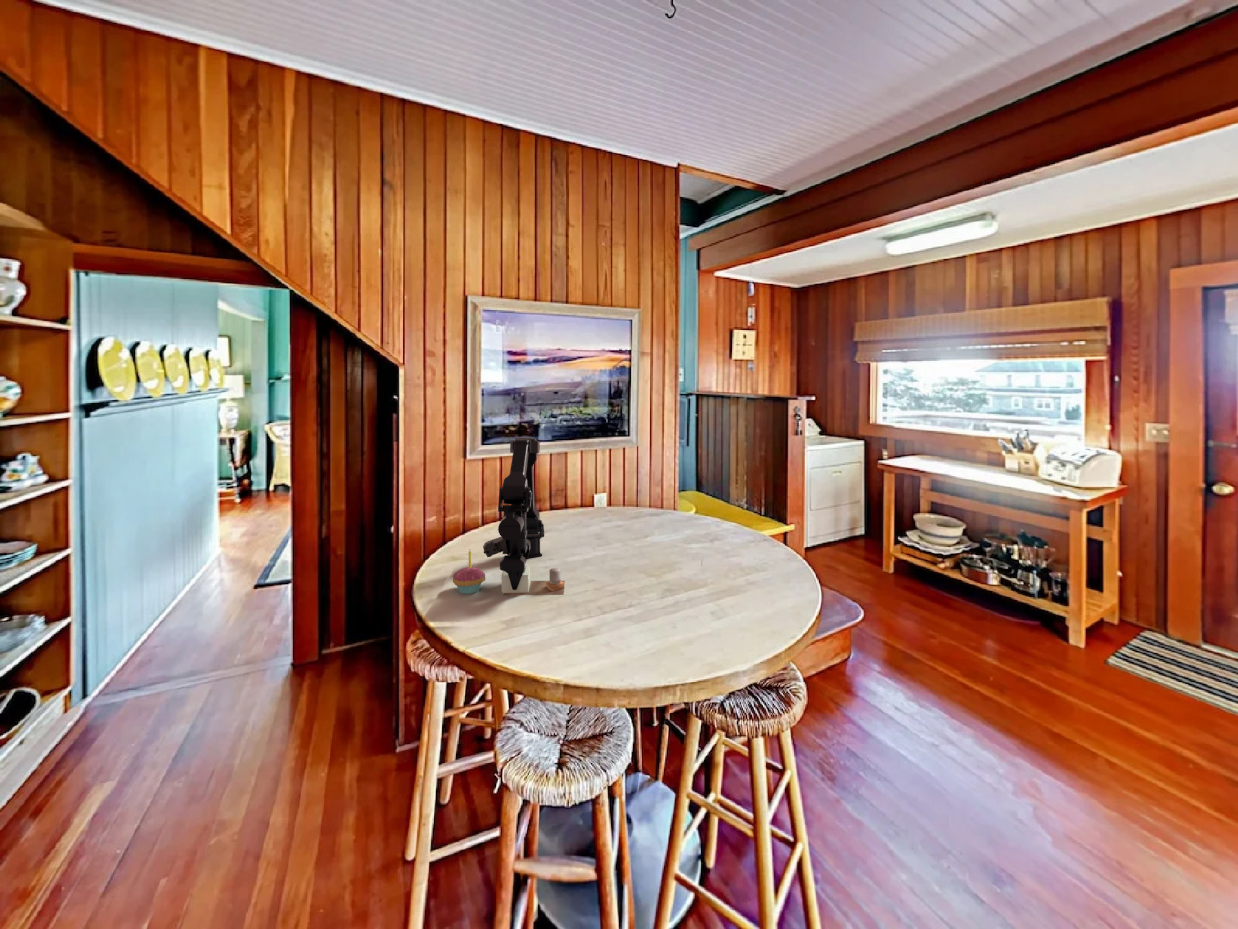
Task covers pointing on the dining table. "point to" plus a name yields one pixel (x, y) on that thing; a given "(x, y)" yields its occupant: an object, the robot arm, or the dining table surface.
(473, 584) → the cupcake
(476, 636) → the dining table surface
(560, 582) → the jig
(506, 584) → the square hollow sleeve
